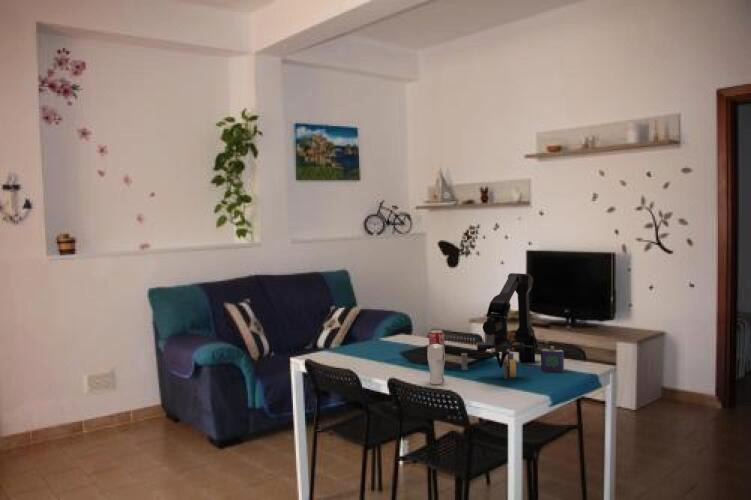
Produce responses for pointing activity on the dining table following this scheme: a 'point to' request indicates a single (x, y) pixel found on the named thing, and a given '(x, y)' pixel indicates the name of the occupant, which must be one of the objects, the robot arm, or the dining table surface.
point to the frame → (510, 362)
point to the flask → (552, 360)
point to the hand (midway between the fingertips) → (500, 367)
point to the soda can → (436, 337)
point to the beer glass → (436, 363)
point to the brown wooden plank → (505, 368)
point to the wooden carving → (511, 336)
